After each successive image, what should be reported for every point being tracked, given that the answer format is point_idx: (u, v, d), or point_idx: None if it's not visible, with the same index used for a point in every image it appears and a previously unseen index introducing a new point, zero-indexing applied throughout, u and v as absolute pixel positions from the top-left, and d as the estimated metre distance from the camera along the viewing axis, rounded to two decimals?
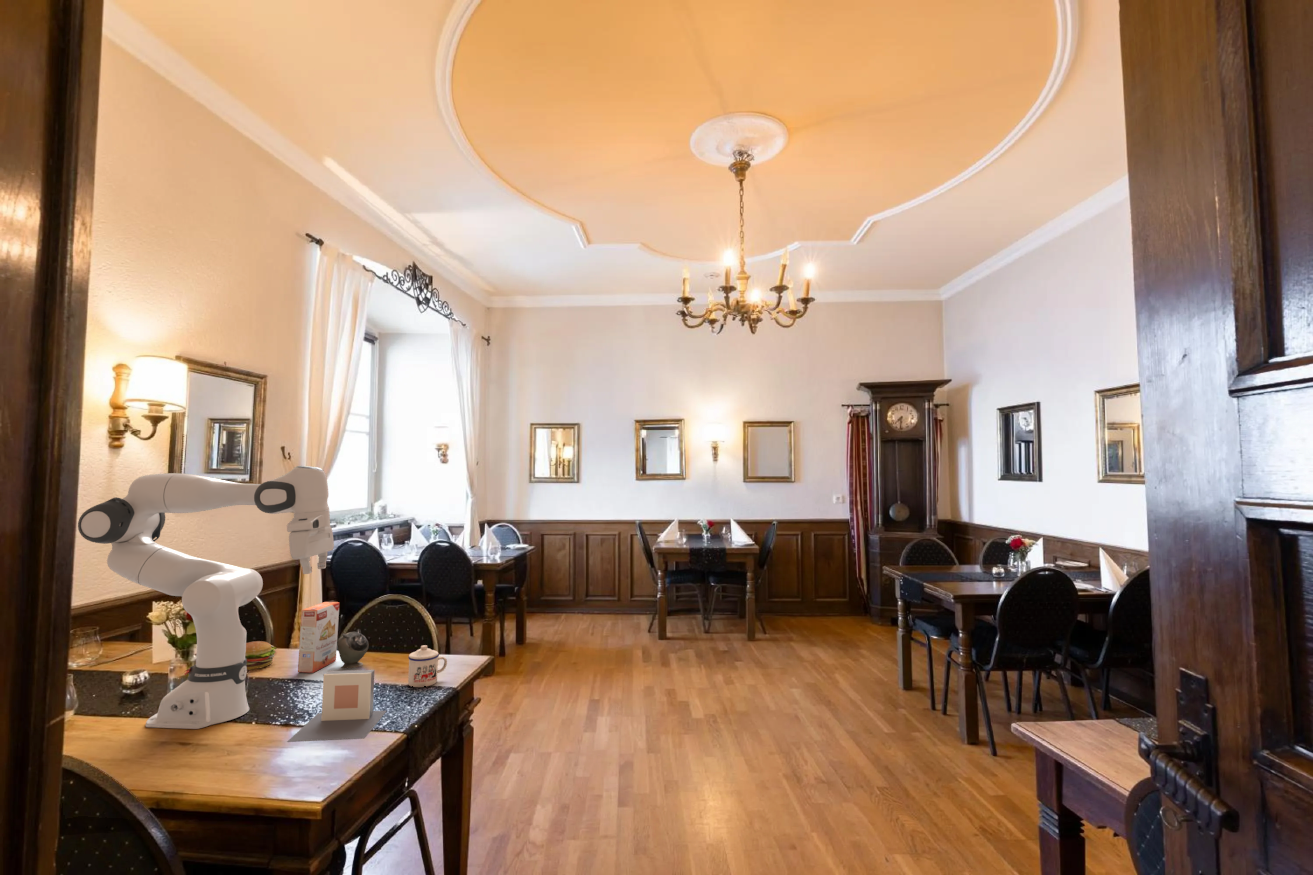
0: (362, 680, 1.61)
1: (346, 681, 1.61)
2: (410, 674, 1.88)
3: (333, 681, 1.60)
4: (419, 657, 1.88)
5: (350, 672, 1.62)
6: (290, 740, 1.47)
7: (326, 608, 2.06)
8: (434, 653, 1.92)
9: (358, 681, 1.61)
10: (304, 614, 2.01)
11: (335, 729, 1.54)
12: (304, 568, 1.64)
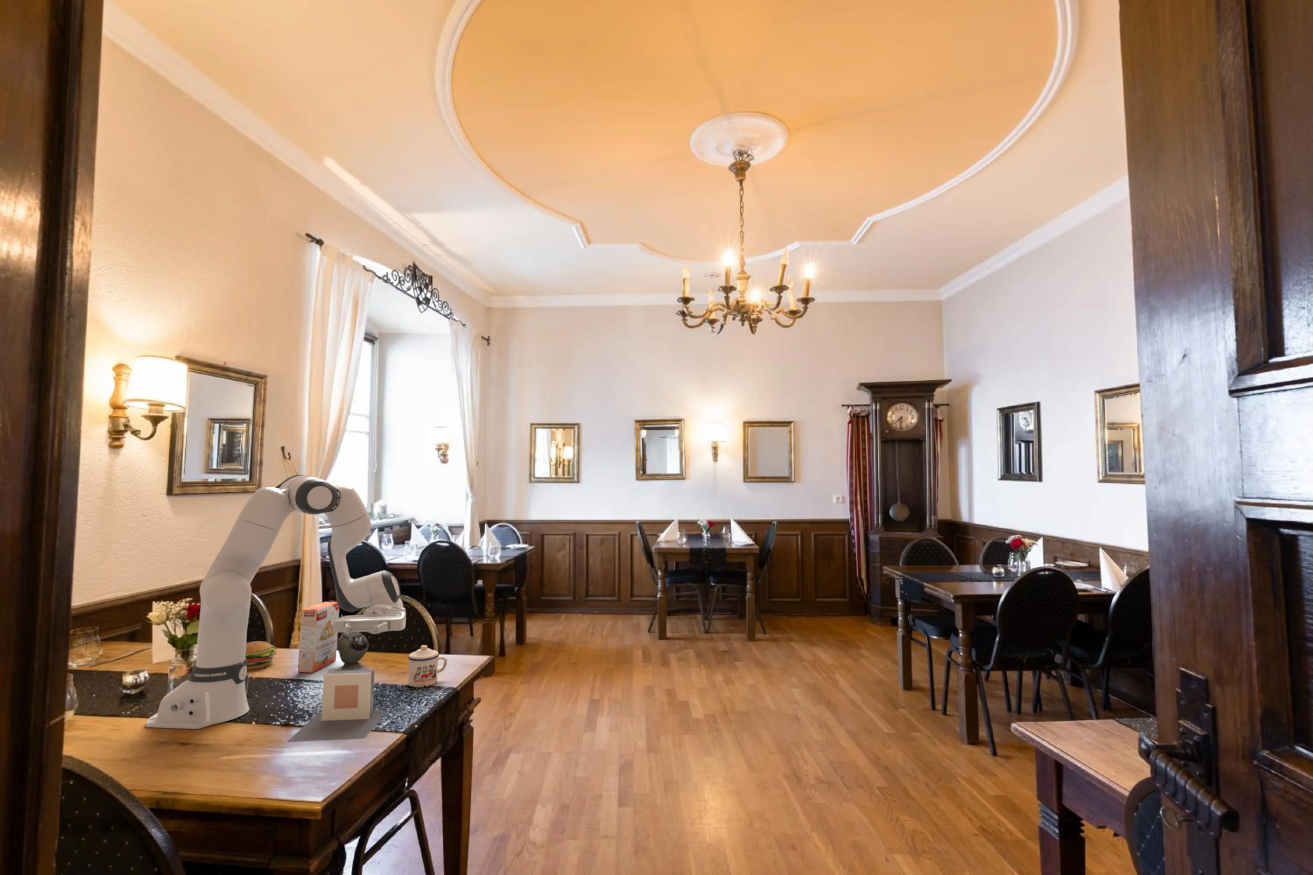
0: (362, 680, 1.61)
1: (346, 681, 1.61)
2: (410, 674, 1.88)
3: (333, 681, 1.60)
4: (419, 657, 1.88)
5: (350, 672, 1.62)
6: (290, 740, 1.47)
7: (326, 608, 2.06)
8: (434, 653, 1.92)
9: (358, 681, 1.61)
10: (304, 614, 2.01)
11: (335, 729, 1.54)
12: (381, 626, 1.79)
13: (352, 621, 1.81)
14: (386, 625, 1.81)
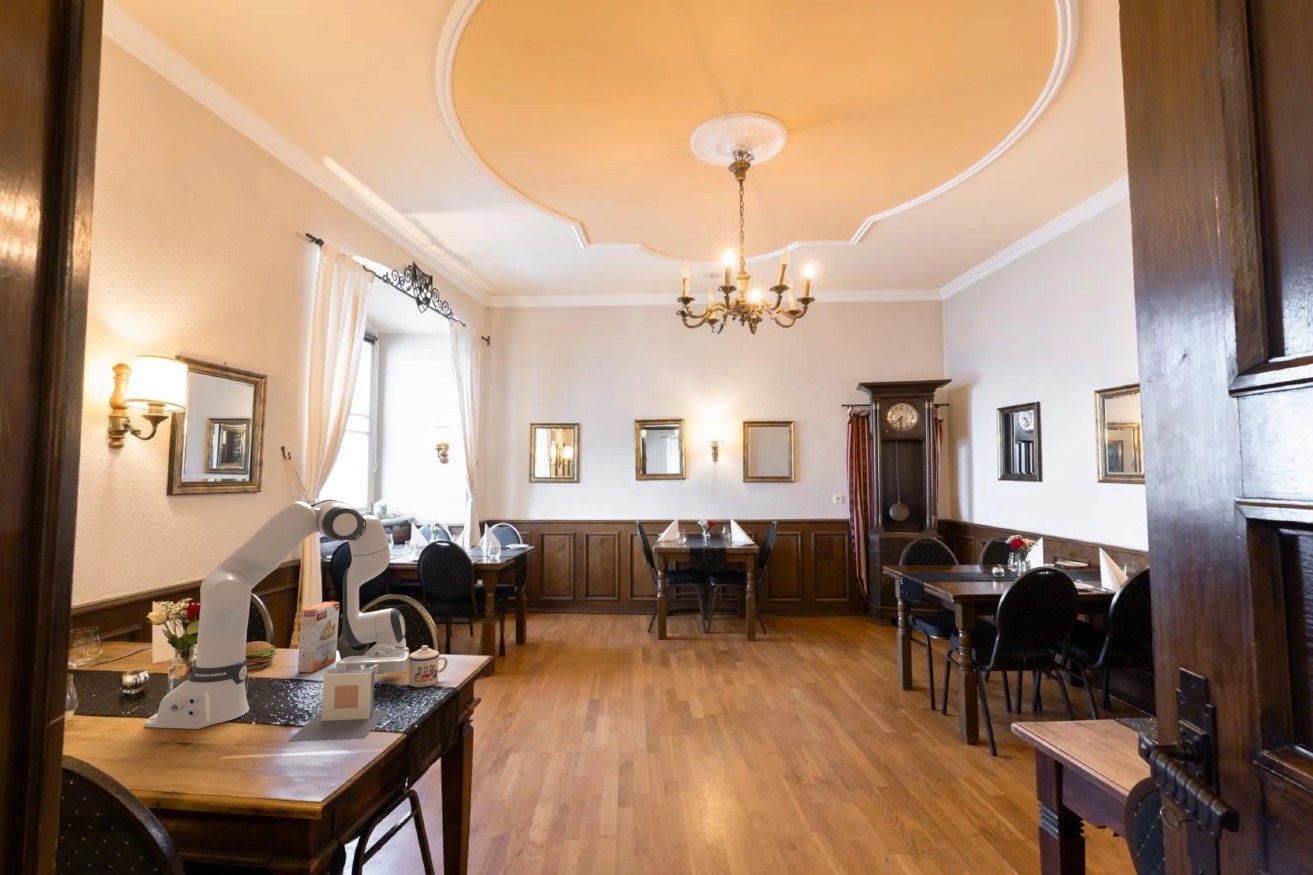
0: (362, 680, 1.61)
1: (346, 681, 1.61)
2: (411, 674, 1.88)
3: (333, 681, 1.60)
4: (420, 657, 1.88)
5: (350, 672, 1.62)
6: (290, 740, 1.47)
7: (326, 608, 2.06)
8: (435, 653, 1.92)
9: (358, 681, 1.61)
10: (304, 614, 2.01)
11: (335, 729, 1.54)
12: (372, 669, 1.76)
13: (355, 663, 1.79)
14: (377, 667, 1.78)
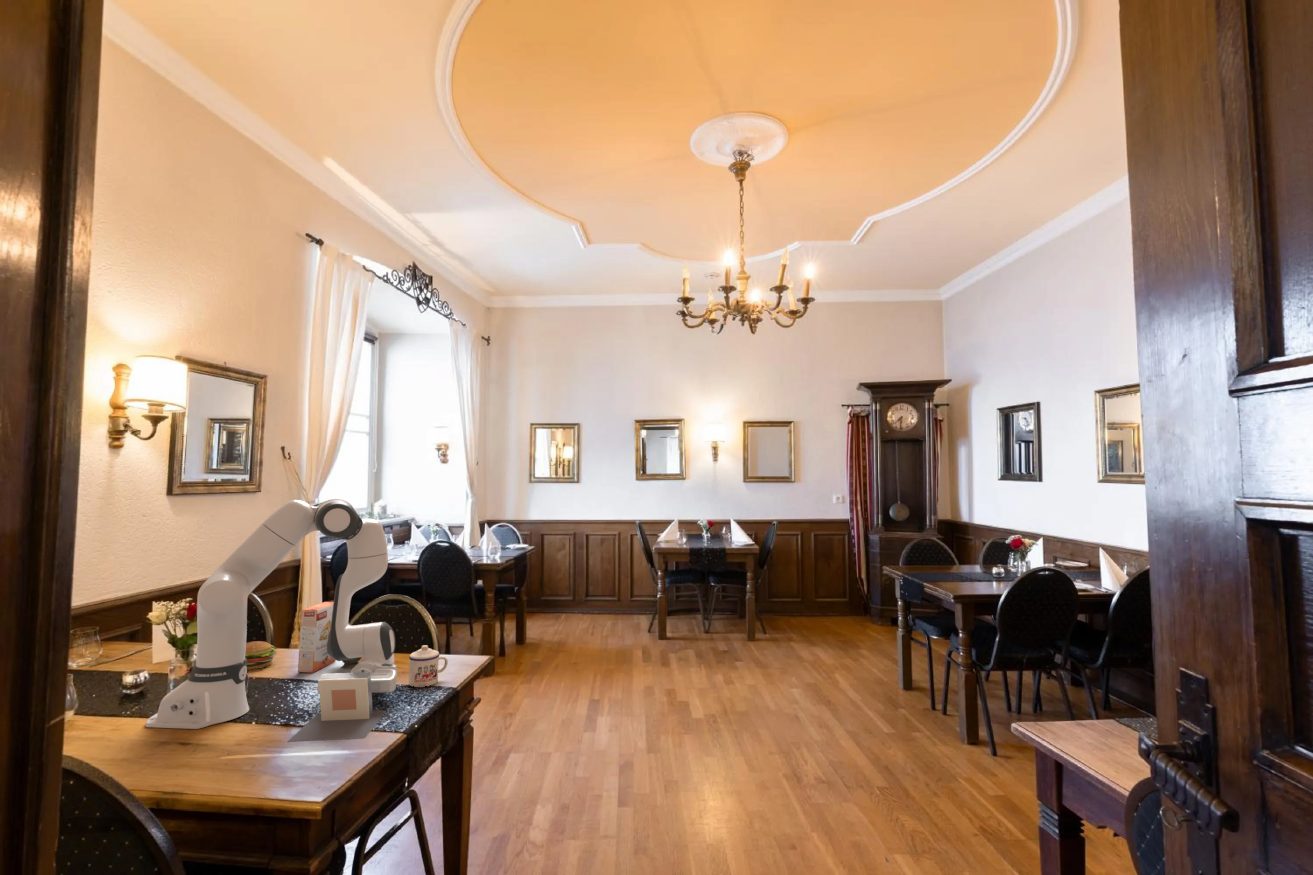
0: (358, 685, 1.59)
1: (342, 686, 1.58)
2: (411, 674, 1.88)
3: (329, 686, 1.58)
4: (420, 657, 1.88)
5: (345, 676, 1.59)
6: (290, 740, 1.47)
7: (326, 608, 2.06)
8: (435, 653, 1.92)
9: (354, 686, 1.59)
10: (304, 614, 2.01)
11: (335, 729, 1.54)
12: None
13: None
14: None
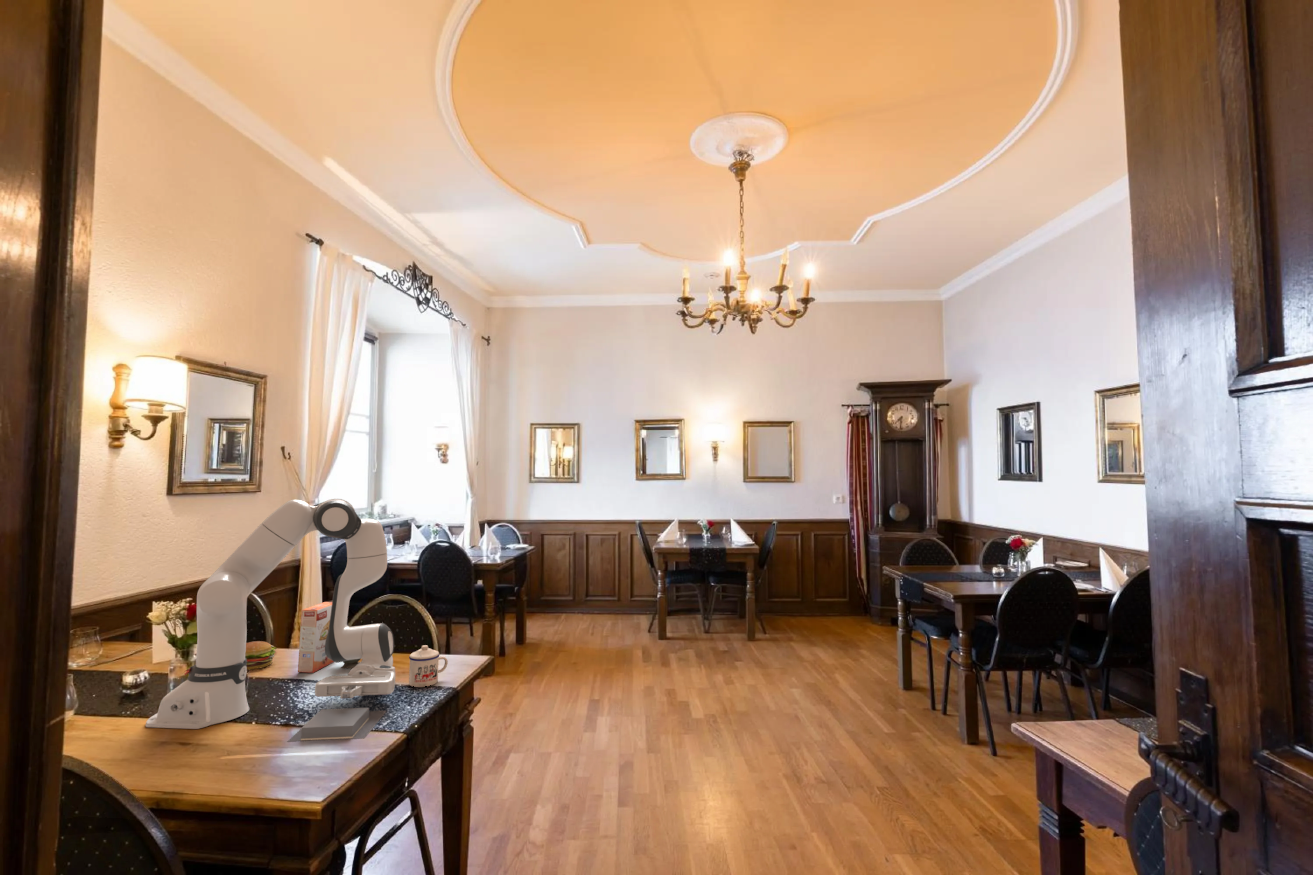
0: None
1: None
2: (411, 674, 1.88)
3: None
4: (420, 657, 1.88)
5: (327, 732, 1.48)
6: (290, 740, 1.47)
7: (326, 608, 2.06)
8: (435, 653, 1.92)
9: None
10: (304, 614, 2.01)
11: None
12: (354, 691, 1.62)
13: (336, 684, 1.65)
14: (360, 689, 1.64)
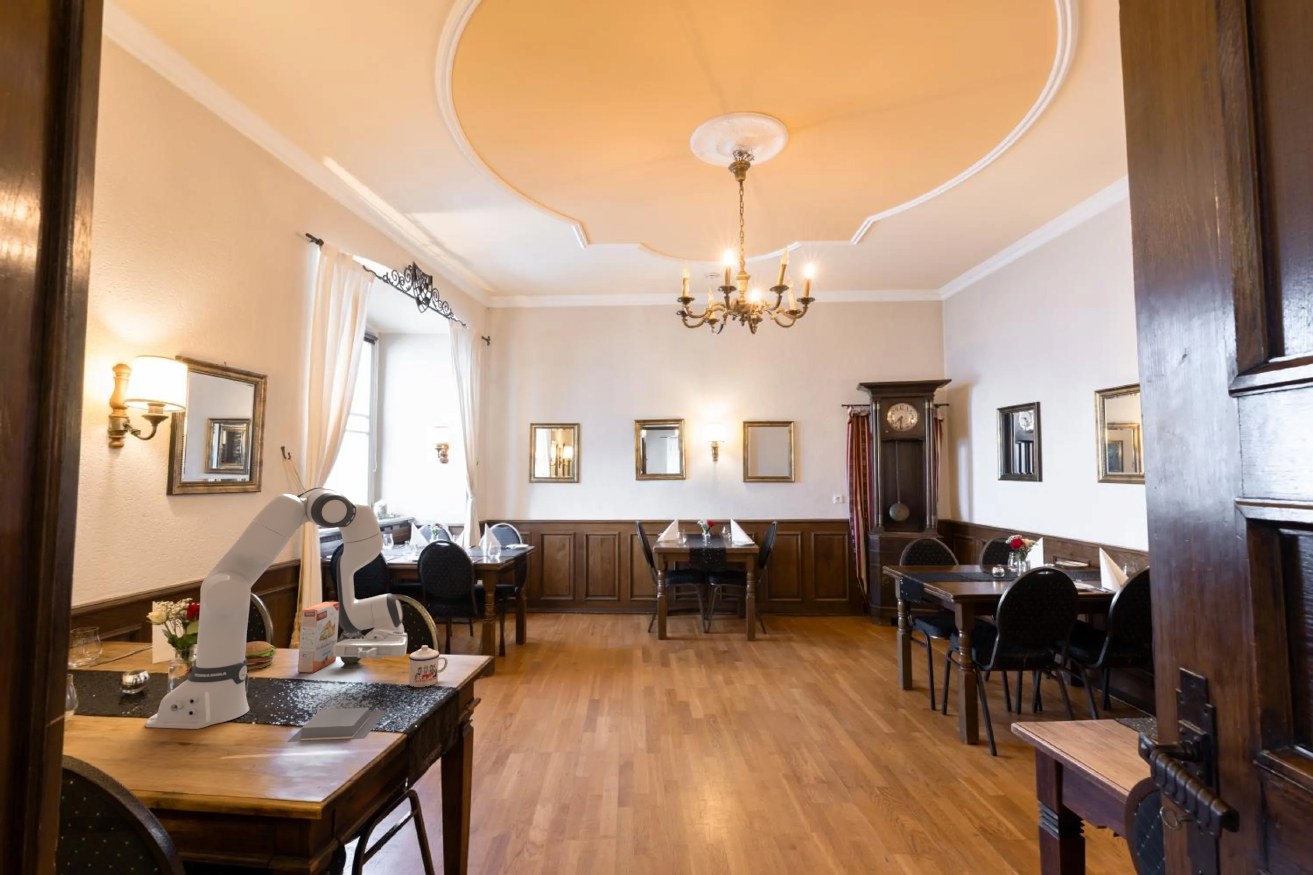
0: None
1: None
2: (411, 674, 1.88)
3: None
4: (420, 657, 1.88)
5: (327, 732, 1.48)
6: (290, 740, 1.47)
7: (326, 608, 2.06)
8: (435, 653, 1.92)
9: None
10: (304, 614, 2.01)
11: None
12: (370, 652, 1.76)
13: (353, 645, 1.78)
14: (375, 651, 1.77)
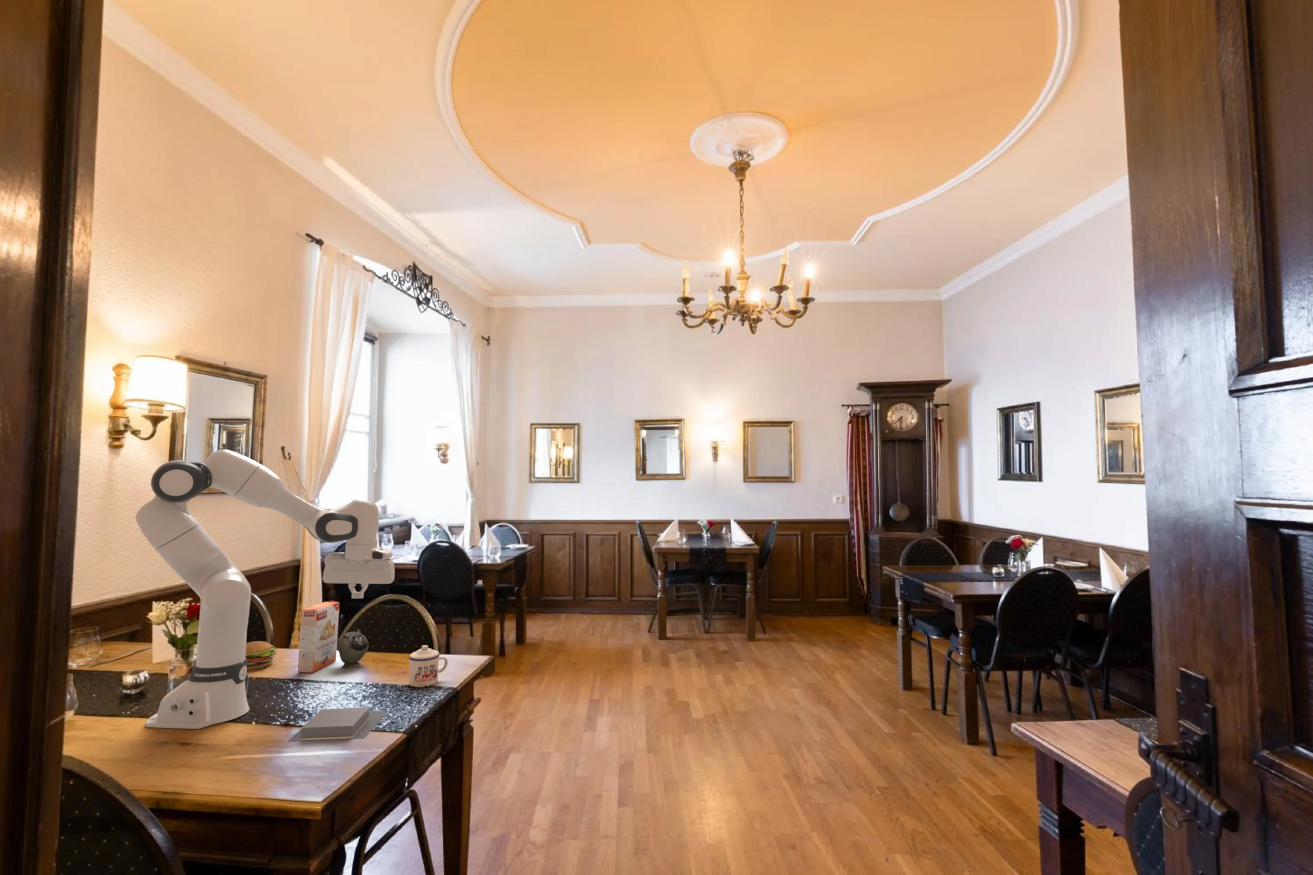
0: None
1: None
2: (411, 674, 1.88)
3: None
4: (420, 657, 1.88)
5: (327, 732, 1.48)
6: (290, 740, 1.47)
7: (326, 608, 2.06)
8: (435, 653, 1.92)
9: None
10: (304, 614, 2.01)
11: None
12: (362, 593, 1.84)
13: (342, 582, 1.83)
14: (366, 586, 1.85)
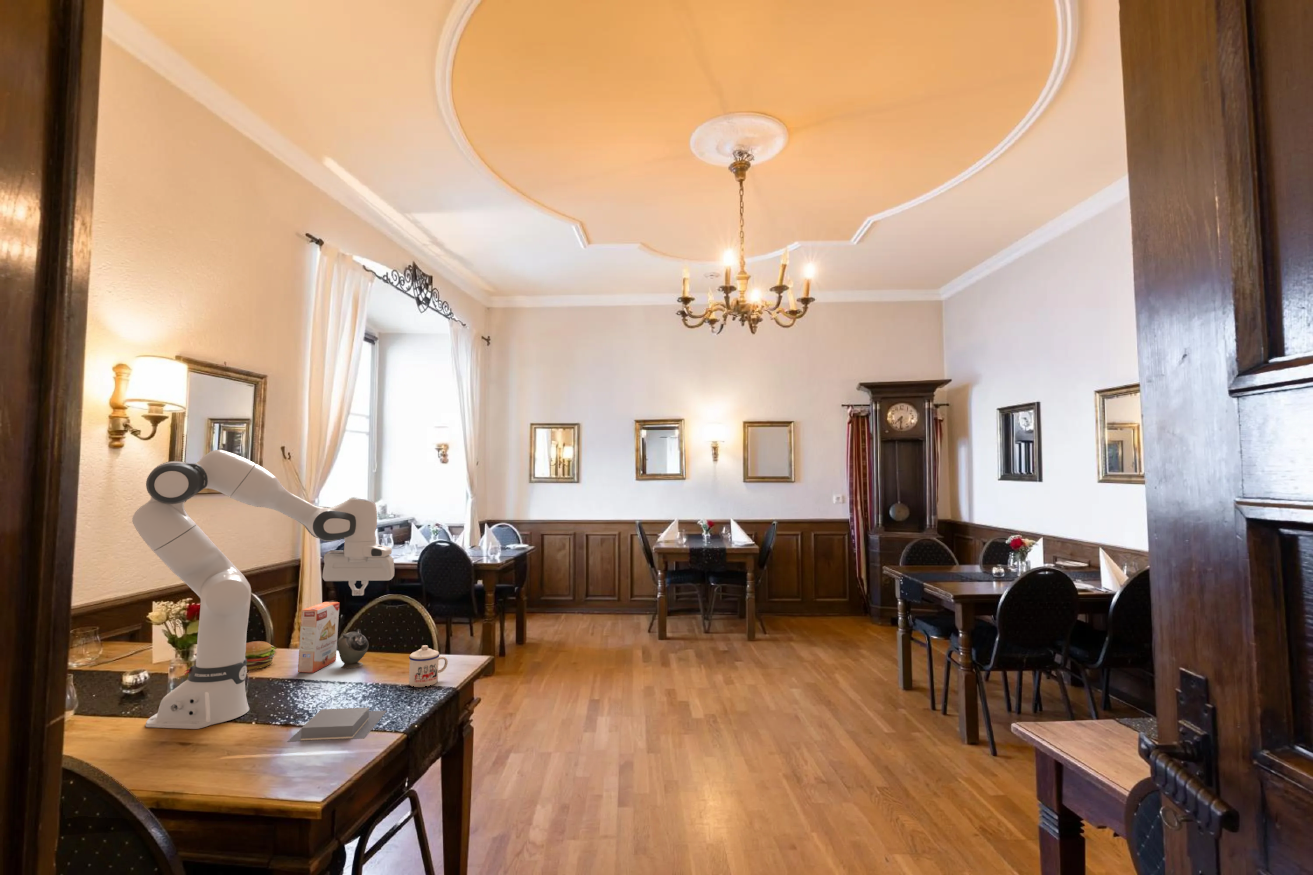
0: None
1: None
2: (411, 674, 1.88)
3: None
4: (420, 657, 1.88)
5: (327, 732, 1.48)
6: (290, 740, 1.47)
7: (326, 608, 2.06)
8: (435, 653, 1.92)
9: None
10: (304, 614, 2.01)
11: None
12: (362, 590, 1.84)
13: (342, 580, 1.83)
14: (366, 584, 1.85)
